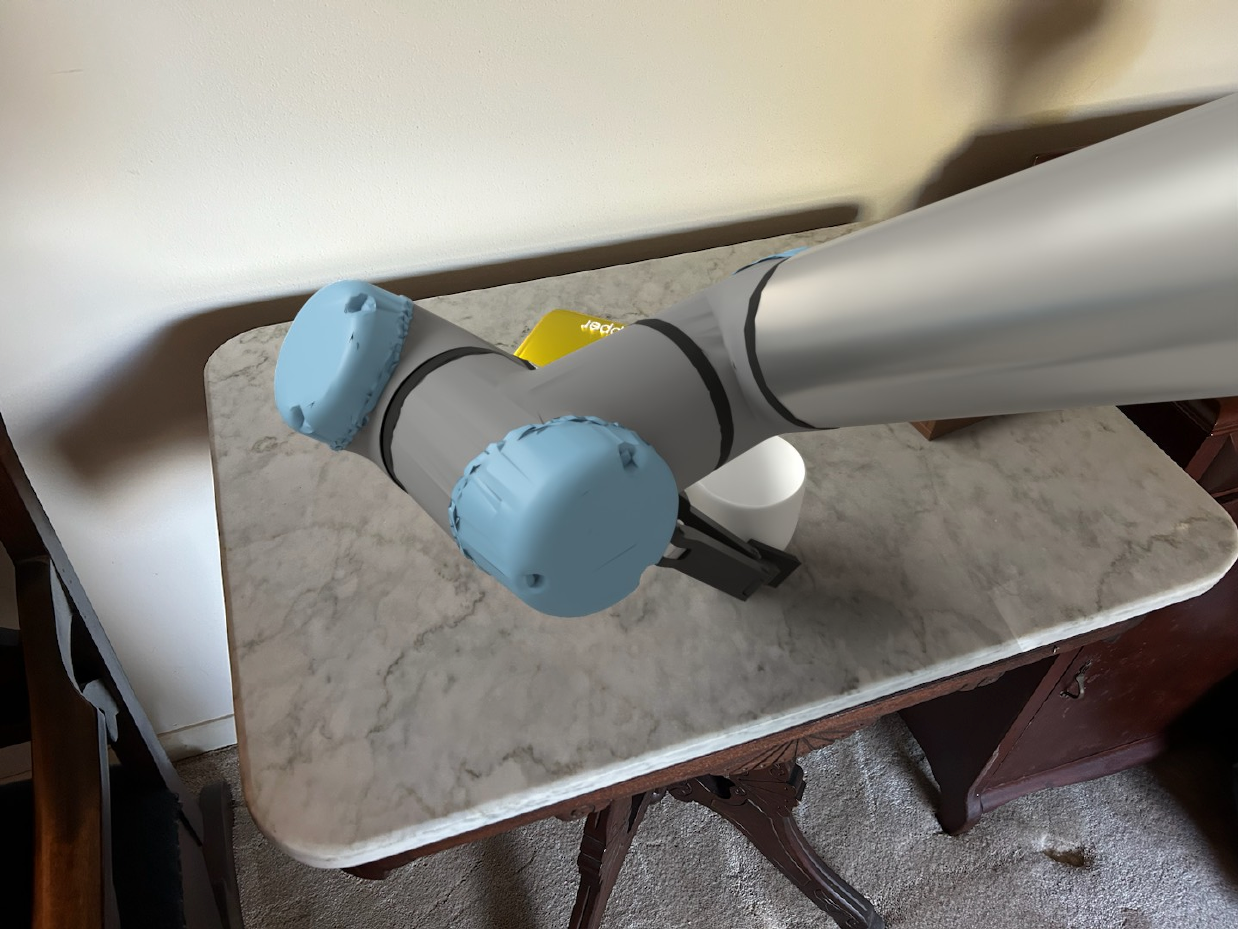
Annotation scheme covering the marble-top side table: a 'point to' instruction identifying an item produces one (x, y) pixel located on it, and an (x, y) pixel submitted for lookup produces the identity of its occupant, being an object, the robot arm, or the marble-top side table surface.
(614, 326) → the element tile
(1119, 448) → the marble-top side table surface
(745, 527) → the mug
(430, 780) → the marble-top side table surface
